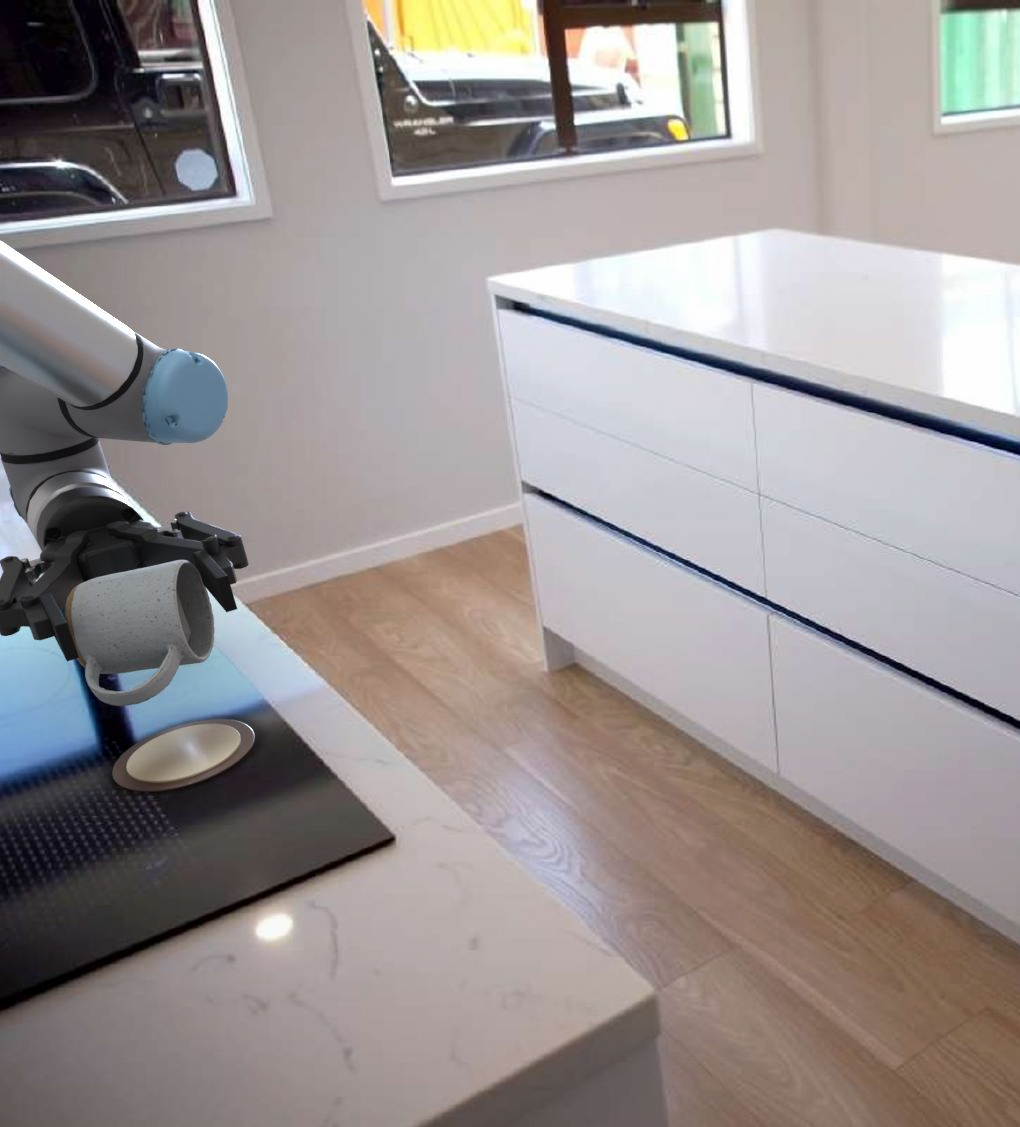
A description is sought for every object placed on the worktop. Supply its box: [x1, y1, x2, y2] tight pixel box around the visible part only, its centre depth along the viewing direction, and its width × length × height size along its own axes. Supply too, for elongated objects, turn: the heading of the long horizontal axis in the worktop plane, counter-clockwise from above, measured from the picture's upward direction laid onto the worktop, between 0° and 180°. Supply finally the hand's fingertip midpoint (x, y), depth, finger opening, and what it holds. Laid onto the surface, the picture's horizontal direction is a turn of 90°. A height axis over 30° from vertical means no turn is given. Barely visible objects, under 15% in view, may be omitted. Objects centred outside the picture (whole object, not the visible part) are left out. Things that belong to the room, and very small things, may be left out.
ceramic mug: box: [64, 560, 215, 707], centre depth 93 cm, size 11×8×8 cm
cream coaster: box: [111, 718, 256, 793], centre depth 98 cm, size 10×10×1 cm
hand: (149, 617), depth 90 cm, fingers closed on ceramic mug, 10 cm apart
